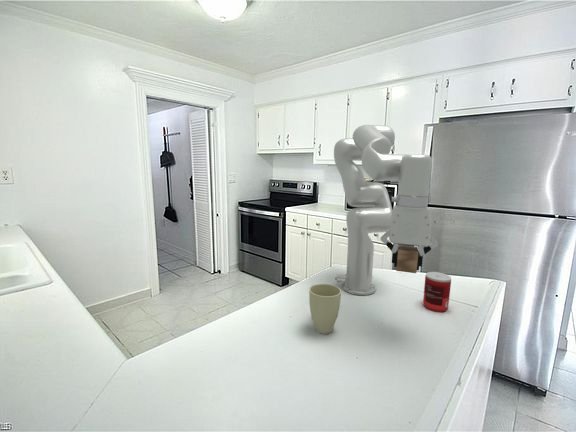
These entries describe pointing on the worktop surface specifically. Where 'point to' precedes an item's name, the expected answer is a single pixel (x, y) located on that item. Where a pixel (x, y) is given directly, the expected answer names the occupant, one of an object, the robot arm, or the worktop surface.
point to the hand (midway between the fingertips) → (406, 266)
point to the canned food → (437, 291)
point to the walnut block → (407, 259)
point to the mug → (324, 306)
